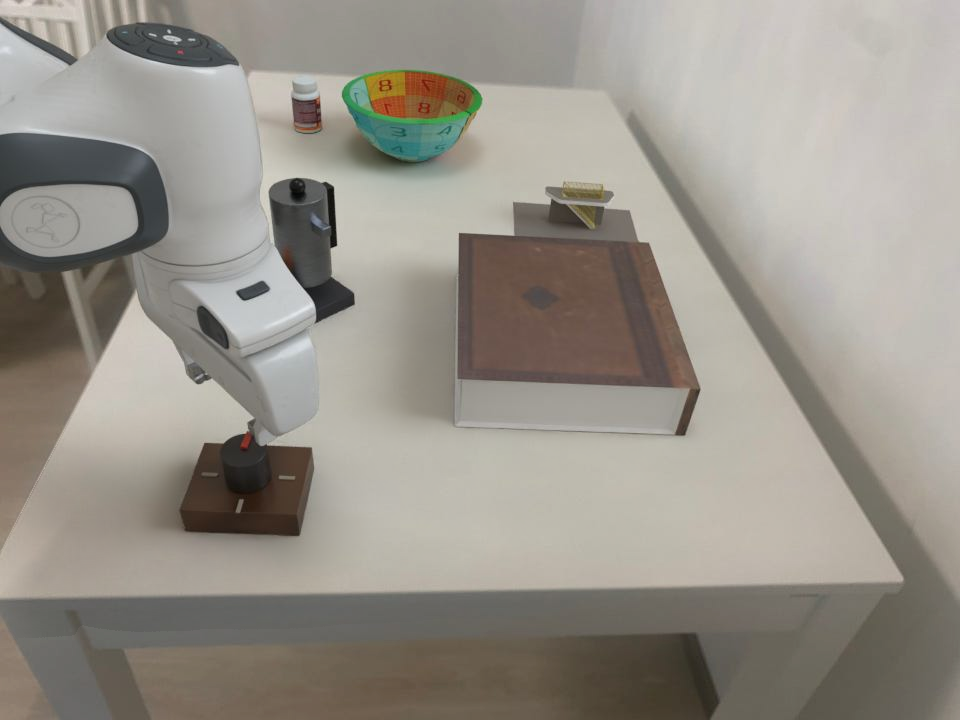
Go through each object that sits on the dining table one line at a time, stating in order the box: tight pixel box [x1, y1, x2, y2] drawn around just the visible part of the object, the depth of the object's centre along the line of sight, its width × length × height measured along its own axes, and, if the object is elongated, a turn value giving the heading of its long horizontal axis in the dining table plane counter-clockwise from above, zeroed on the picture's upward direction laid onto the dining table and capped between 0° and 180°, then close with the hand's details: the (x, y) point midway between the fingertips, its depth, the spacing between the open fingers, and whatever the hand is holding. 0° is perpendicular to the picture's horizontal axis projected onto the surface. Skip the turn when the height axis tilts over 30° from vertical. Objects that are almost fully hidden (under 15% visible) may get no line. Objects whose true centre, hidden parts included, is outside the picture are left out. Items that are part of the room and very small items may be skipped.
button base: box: [303, 276, 356, 324], centre depth 92 cm, size 15×10×4 cm
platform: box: [513, 180, 639, 242], centre depth 112 cm, size 12×18×7 cm, turn 89°
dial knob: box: [220, 430, 272, 493], centre depth 68 cm, size 4×4×4 cm
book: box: [453, 232, 702, 436], centre depth 89 cm, size 24×28×7 cm
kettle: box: [268, 177, 338, 288], centre depth 89 cm, size 8×8×12 cm
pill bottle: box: [290, 75, 323, 134], centre depth 131 cm, size 5×5×8 cm
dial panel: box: [178, 442, 315, 537], centre depth 70 cm, size 10×8×3 cm
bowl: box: [341, 69, 483, 163], centre depth 126 cm, size 22×22×10 cm
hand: (231, 406), depth 64 cm, fingers open, 8 cm apart
